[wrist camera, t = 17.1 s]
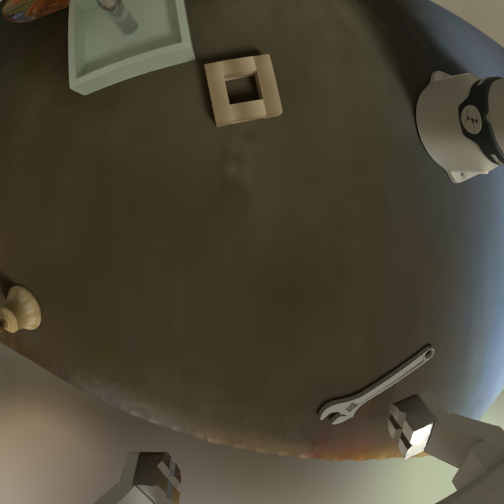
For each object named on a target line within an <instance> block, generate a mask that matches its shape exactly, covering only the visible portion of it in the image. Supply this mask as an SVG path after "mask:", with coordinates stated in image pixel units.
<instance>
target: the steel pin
mask: <svg viewBox="0 0 504 504" xmlns="http://www.w3.org/2000/svg"><path fill="white" fill-rule="evenodd" d="M96 2H97V3H98V4H99V5H100V6H101V8H102V9H103V10H104V11H105V12H106V14H107V15H108V16H109V17H110V18H111V20H112V21H113V22H114V23H115V25H116V26H117V27H118V28H119V29H120V31H121V32H122V33H123V34H125V35H129V34H132V33H134V32H135V31H136V30H137V28H138V24H137V22H136V21H135V19H134V18H133V16H132V15H131V13H130V11H129V10H128V8H127V7H126V5H125V4H124V2H123V1H122V0H96Z"/></svg>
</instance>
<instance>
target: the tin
mask: <svg viewBox="0 0 504 504" xmlns="http://www.w3.org/2000/svg"><path fill="white" fill-rule="evenodd" d="M69 2H70V0H7V2H6V4H5V5H4V7H3V9H2V15H3V16H4V18H5V19H7V20H9V21H12V22H17V23H24V22H30V21H33V20H36V19H38V18H40V17H43V16H45V15H48V14H50V13H53V12H56V11H58V10H61V9H64V8H67V7H69Z"/></svg>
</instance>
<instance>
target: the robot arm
mask: <svg viewBox="0 0 504 504" xmlns="http://www.w3.org/2000/svg"><path fill="white" fill-rule="evenodd" d="M416 121H417V127H418V131H419V135H420V138H421V140H422V143H423V145H424V147H425V149H426V150H427V152H428V153H429V155H430V156H431V157H432V158H433V159H434V160H435V161H436V162H437V163H438V164H439V165H440V166H442V167H443V168H444V169H445V170H446V172H447V174H448V175H449V177H450V179H451V180H452V181H453V182H454V183H461V182H463V181H465V180H467V179H469V178H471V177H473V176H475V175H478V174H487V173H488V172H489V171H490V170H493V169H494V168H496V167H497V166H499V165H503V166H504V78H502V77H486V78H484V79H478V78H477V76H475V75H471V74H470V73H464V74H459V75H454V76H451V75H449V74H446V73H444V72H441V71H434V72H433V73H432V75H431V79H430V83H429V85H428V86H427V87H426V88H425V89H424V90H423V91H422V93H421V94H420V96H419V99H418V102H417V107H416ZM390 412H391V414H392V415H391V416H390V417H389V418H388V428H389V432H390V434H391V436H392V438H393V439H394V440H396V441H399V444H398V449H399V450H400V452H401V454H402V455H403V457H404V459H406V458H409V457H411V456H413V455H415V454H418V453H420V452H422V451H424V452H426V453H428V454H430V455H432V456H434V457H436V458H438V459H440V460H442V461H444V462H446V463H448V464H450V465H452V466H454V467H457V468H459V470H458V472H457V473H456V475H455V477H454V478H453V480H452V482H453V484H454V486H455V487H456V489H457V491H456V492H455V493H453V494H451V495H450V496H448V497H446V498H445V499H443V500H441V501H439V502H437V503H436V504H504V431H503V430H502V428H501V427H499V426H495V425H491V424H487V423H484V422H481V421H477V420H474V419H470V418H467V417H464V416H460V415H457V414H454V413H452V414H450V415H449V413H448V412H447V411H446V410H445V408H444V407H443V406H442V405H441V404H440V402H439V401H438V400H437V399H436V398H435V396H434V395H433V394H432V393H431V392H430V391H429V390H428V389H426V390H423V391H421V392H419V393H417V394H415V395H412V396H410V397H407V398H405V399H403V400H401V401H398V402H396V403H394V404H392V405H391V407H390ZM180 484H181V475H180V470H179V468H178V466H177V464H176V463H175V462H173V461H171V456H170V455H169V453H168V452H129V453H128V454H127V456H126V460H125V464H124V468H123V471H122V475H121V479H120V483H119V484H115V485H114V486H113V487H112V488H111V489H110V490H109V491H108V492H106V493H105V494H104V495H103V496H102V497H101V498H99V499H98V500H97V501H96V502H95V503H94V504H179V497H180V493H179V492H178V490H177V489H176V488H177V487H178V486H179V485H180Z"/></svg>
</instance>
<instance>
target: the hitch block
mask: <svg viewBox="0 0 504 504" xmlns="http://www.w3.org/2000/svg"><path fill="white" fill-rule="evenodd" d="M204 66H205V71H206V76H207V81H208V86H209V91H210V96H211V101H212V106H213V111H214V116H215V121H216V126H217V127H219V126H224V125H229V124H234V123H239V122H245V121H250V120H256V119H262V118H269V117H275V116H280V115H281V114H282V113H283V110H282V106H281V101H280V97H279V93H278V88H277V84H276V80H275V75H274V71H273V67H272V63H271V59H270V55H269V54H267V55H258V56H251V57H244V58H237V59H231V60H225V61H220V62H214V63H209V64H205V65H204ZM252 76H255V80H256V84H257V89H258V93H259V98H260V100H254V101H248V102H242V103H237V104H231V105H230V104H229V99H228V94H227V89H226V85H225V81H228V80H233V79H239V78H245V77H252Z"/></svg>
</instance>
